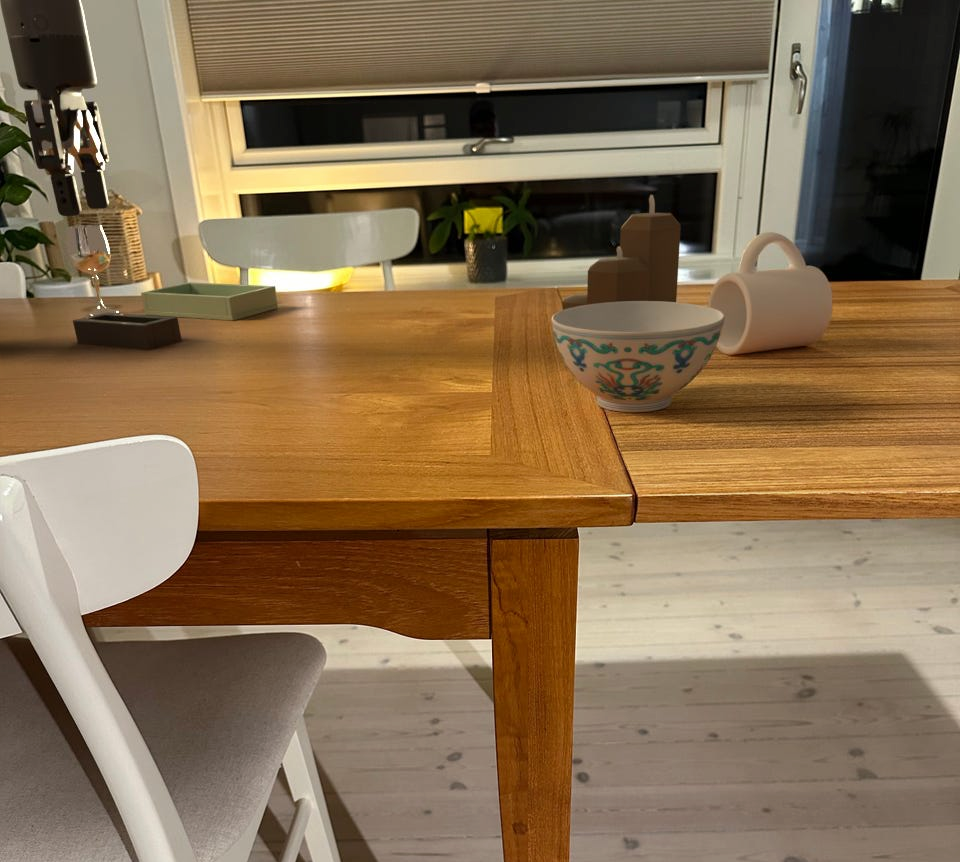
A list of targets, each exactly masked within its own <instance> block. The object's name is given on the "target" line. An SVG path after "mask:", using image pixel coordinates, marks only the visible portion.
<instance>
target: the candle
mask: <svg viewBox="0 0 960 862" xmlns="http://www.w3.org/2000/svg"><path fill="white" fill-rule="evenodd" d="M648 203H649V208H648V209H649V210H648V212H644V213H632V214H631V215H630V216H629V218H627V220H626V221H625V222H624V223H623V224H622V226H621V228H620V235H619V237H620V238H619V239H620V241H619V246H617V247H616V249H615V251H616V257H605V258H600V259H598V260H596V261H595V262H594V263H593V264H592V265H590V266H589V268H588V270H587V292H583V293H573V294H570V295H567V296H565V297H564V299H563V300H562V306H561V307H562V310H565V309H569V308H573V307H577V306H583V305H590V304H598V303H609V302H626V301H662V302H677V294H678V279H679V278H678V277H679V261H680V247H681V246H680V244H681V243H680V242H681V231H682V229H681V228H682V227H681V223H680V222H679V221H678V220H677V219H676V218H675V216H674V215H673V214H672V213H671V212H656V211H655V210H656V208H655V207H656V202H655V198H654V195H653V194H650V195H649V198H648ZM562 310H561V311H562Z"/></svg>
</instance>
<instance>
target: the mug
mask: <svg viewBox="0 0 960 862" xmlns="http://www.w3.org/2000/svg"><path fill="white" fill-rule="evenodd" d="M770 244H776V245H777V246H778V247H779V248H780V249H781V250H782V252H783V253H784V255H785V256H786V258H787V260H788V263H789V265H788V267H784V268H783V267H782V268H781V267H780V268H771V269H761V270H755V267H756V264H757V261H758V258H759V256H760V255H761V253H762V252H763V250H764V249H765V248H766V247H767V246H768V245H770ZM805 261H806V260H805V259H804V256H803V255H802V252H801V251H800V249H799V248H798V247H797V246H796V245H795V243H794V242H793V241H792V240H790V239H789V238H788V237H786V236H785V235H783V234H780V233H778V232H773V231H766V232H761V233H759V234H757V235H755V236H754V237H753V238H752V239H751V240H750V241H749V242H748V244H747V245H746V247H745V248H744V250H743V253H742V255H741V259H740V262H739V265H738V271H737V272H731V273H730V272H729V273H726V274H724V275H722V276H721V277H720V278H718V280H717V281H716V282H715V283H714V285H713V287H712V289H711V291H710V294H709V298H708V302H707V307H711V308H714V309H717V310H719V311H721V312H722V313H723V314H724V315H725V319H724V324H723V328H722V331H721V334H720V337H719V340H718V342H717V345H716V347H715V348H716V349H717V350H718V351H720V352H721V353H723V354H724V355H728V356H733V355H734V356H735V355H742V354H750V353H757V352H765V351H774V350H781V349H782V350H783V349H789V348H796V347H797V348H798V347H804V346H811V345H813V344H815V343H817V342H818V341H819V340H820V339H822V337H823V336H824V335H825V333H826V331H827V329H828V327H829V326H830V323H831V319H832V315H833V305H834V303H833V300H834V299H833V292H832V287H831V284H830V282H829V280H828V278H827V276H826V275H825V273H824V272H823V271H822V270H821V269H820V268H819V267H816V266H812V265H806V262H805Z"/></svg>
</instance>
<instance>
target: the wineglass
mask: <svg viewBox="0 0 960 862" xmlns="http://www.w3.org/2000/svg"><path fill="white" fill-rule="evenodd" d="M66 249H67V254H68V258H69V260H70V263H71V264H72V265H73V266H74V268H76V269H77V270H79V271H81V272H83V273H86V274H90V275H91V276H92V277H91V282H92V285H93V287H94V290H95V292H96V297H97V303H98V305H97V308H95V309H94V310H92V311H89V312H87V313H86V315H87V317H90V316H94V315H99V314H103V313H119V310H117V309H111V308H108V307H106V306H105V305H104V304H103V301H102V297H101V291H100V278H99V277H98V276H97V274H99V273H101V272H103V271H104V270H106V269H107V268H108V267H109V265H110V264H111V261H112V260H111V258H112V255H111V254H112V253H111V248H110V245H109V241H108V239H107V237H106V234H105V232H104V230H103V227H102V225H101V224H83V225H81V224H80V225H72V226H67V227H66Z"/></svg>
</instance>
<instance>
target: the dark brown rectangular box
mask: <svg viewBox="0 0 960 862" xmlns="http://www.w3.org/2000/svg"><path fill="white" fill-rule="evenodd" d="M72 324H73V328H74V332H75V337H76V341H77V344H78V345H87V346H99V347H110V348H112V347H113V348H122V349H132V350H146V351H151V350H154V349H157V348H161V347H165V346H169V345H172V344H175V343H179V342H182V334H181V328H180V321H179V317H171V316H156V315H145V314H134V313H121V312H120V313H119V312H118V313H103V314H99V315H94V316H87V317H82V318H77V319H73V320H72Z"/></svg>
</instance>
